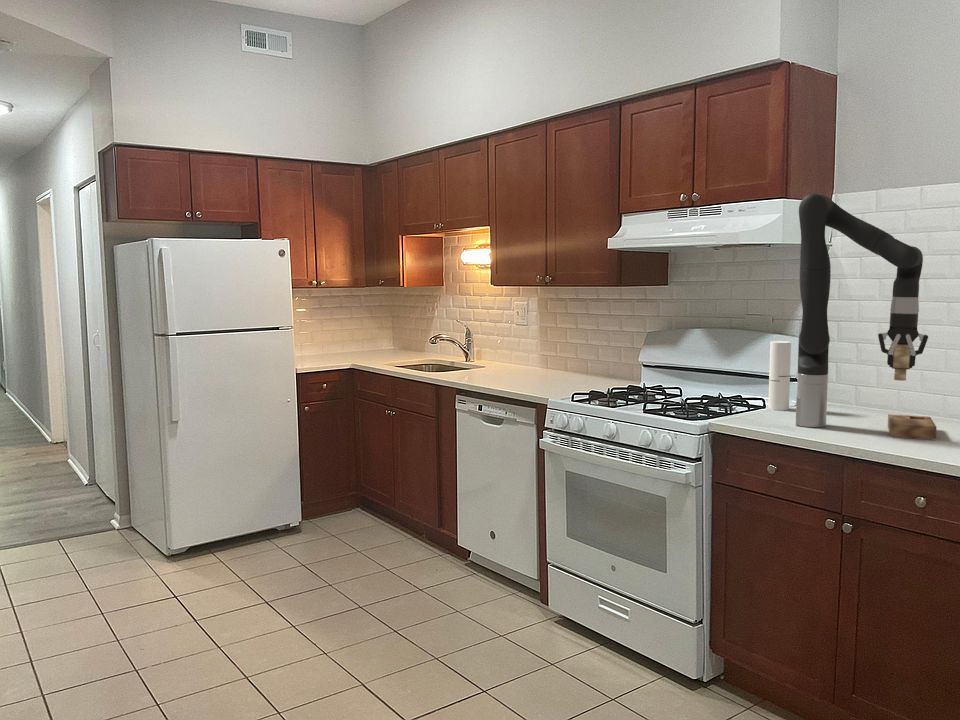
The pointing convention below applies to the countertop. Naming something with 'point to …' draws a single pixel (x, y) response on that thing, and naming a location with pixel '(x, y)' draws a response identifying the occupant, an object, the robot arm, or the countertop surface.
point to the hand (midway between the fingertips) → (900, 367)
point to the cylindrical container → (779, 375)
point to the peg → (901, 361)
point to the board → (911, 426)
